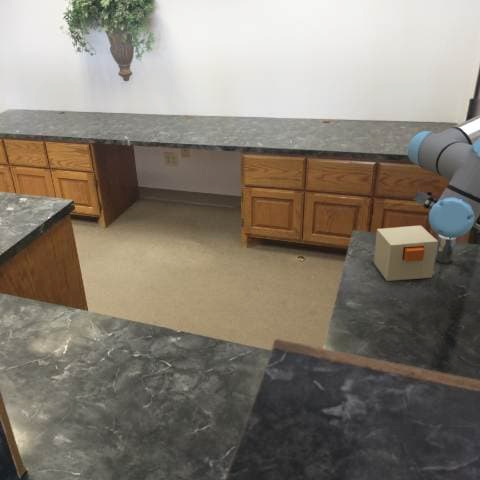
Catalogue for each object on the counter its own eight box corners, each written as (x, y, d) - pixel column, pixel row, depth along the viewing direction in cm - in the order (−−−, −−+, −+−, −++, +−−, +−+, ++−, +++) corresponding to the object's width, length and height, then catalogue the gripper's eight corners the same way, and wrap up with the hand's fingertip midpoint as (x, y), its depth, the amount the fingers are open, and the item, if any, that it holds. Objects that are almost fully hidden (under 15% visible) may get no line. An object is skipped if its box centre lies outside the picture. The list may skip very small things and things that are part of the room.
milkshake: (437, 265, 142) (442, 233, 138) (432, 256, 147) (437, 225, 142) (455, 266, 141) (461, 234, 136) (450, 257, 145) (455, 225, 141)
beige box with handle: (416, 259, 146) (420, 225, 141) (432, 277, 137) (437, 241, 132) (373, 263, 147) (376, 228, 142) (387, 281, 138) (390, 245, 133)
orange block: (419, 256, 135) (421, 246, 134) (423, 260, 133) (424, 249, 132) (402, 258, 135) (404, 247, 134) (406, 261, 134) (407, 251, 132)
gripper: (389, 203, 114) (402, 203, 132) (504, 263, 103) (502, 254, 121) (408, 173, 111) (419, 177, 129) (528, 231, 100) (522, 226, 118)
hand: (459, 214), depth 125 cm, fingers open, 13 cm apart
